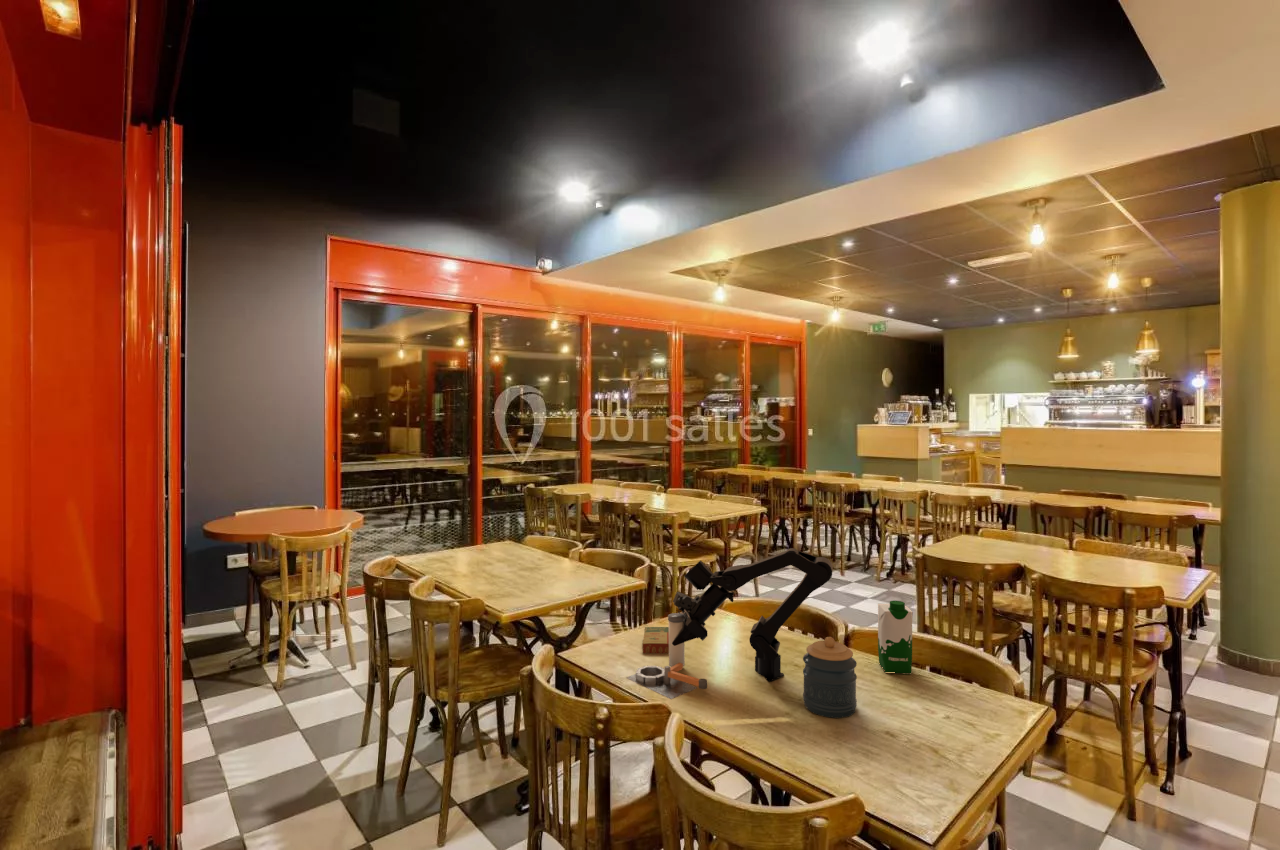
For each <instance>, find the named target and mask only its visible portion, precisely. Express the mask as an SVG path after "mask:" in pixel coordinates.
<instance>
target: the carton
mask: <svg viewBox="0 0 1280 850" xmlns="http://www.w3.org/2000/svg"><path fill="white" fill-rule="evenodd" d="M641 646H642V648H641V649H642V654H669V626H645V627H644V633H643V640H642V645H641Z"/></svg>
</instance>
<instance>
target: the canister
mask: <svg viewBox="0 0 1280 850" xmlns="http://www.w3.org/2000/svg"><path fill="white" fill-rule="evenodd" d="M805 650H806V653H805V654H804V655H803V656H802V661H803V662H804V667H803V670H802V674H803V694H802V700H803V705H804V707H805V708H806V709H807V710H808V711H810V712H811V713H813V714H816V715H818V716H821V717H826V718H836V719H839V718H841V719H842V718H847V717H849V716H852V715H854V714H855V712H856V709H857V704H858V703H857V702H858V701H857V678H858V677H857V673H856V672H855V669H856V668H857V665H858V662H857V660H856V659H855V658H854V657H853V656H854V652H853V651H852V649H851V648H849V647H847V646H846V644H843V643H841V642H839V641H835V639H834V638H833V637H832V636H827V637H825V638H824V640H817V641H814V642H812V644H809V645H807V647H806V649H805Z"/></svg>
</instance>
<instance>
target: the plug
mask: <svg viewBox="0 0 1280 850" xmlns="http://www.w3.org/2000/svg"><path fill="white" fill-rule="evenodd" d="M680 613H681V612H680ZM680 613H678V612H676V613H675V612H674V613H673V612H672V613H670V614H668V615H667V620H668V627H669V653H668V666H670V667H672V666H674V665H676V664H678V663H682V664H683V668H684V667H685V663H686V661H685V657H686V656H685V650H686V649H685V642H684V643H681V644H679V645H676V646H674V645H673V644H672V642H673V640H674V639H675V638H676V636H677V635H678V633H679V632H680V631H681V629H682V627H683V621H685V615H684V614H680Z"/></svg>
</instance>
